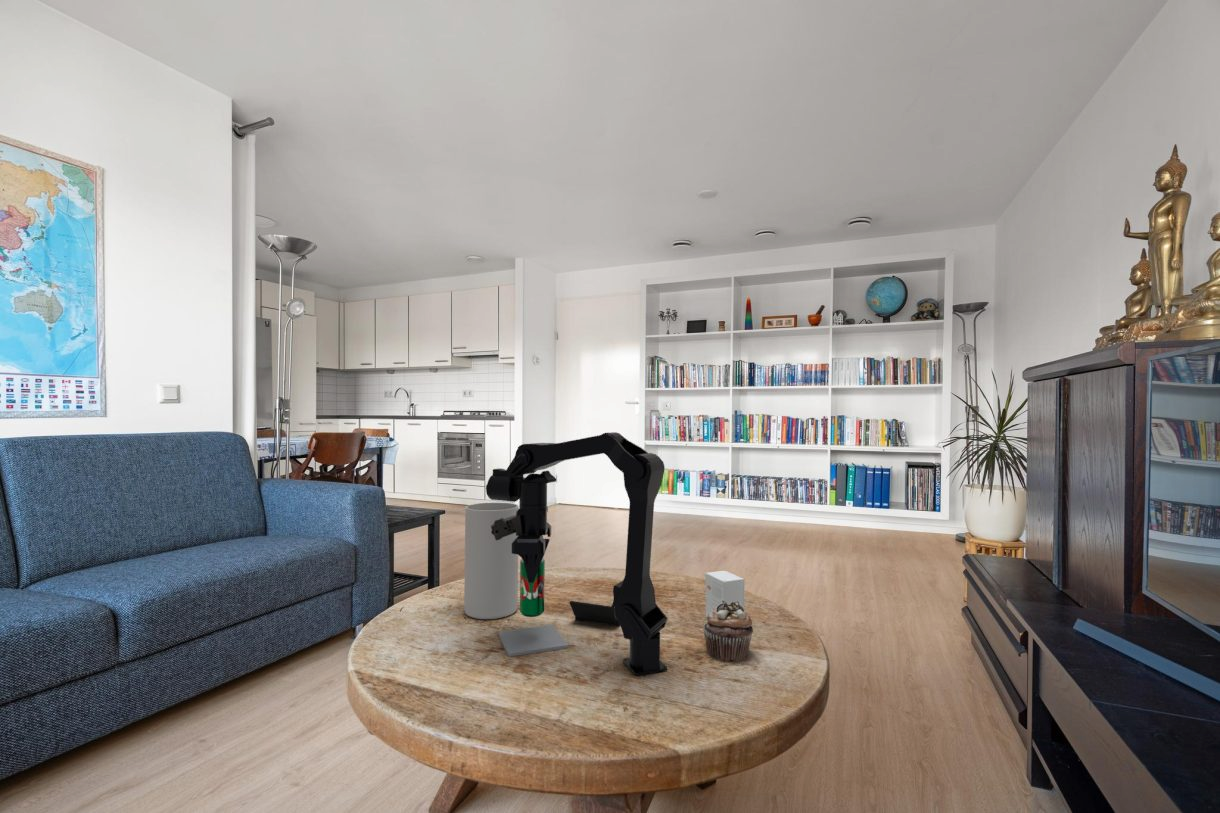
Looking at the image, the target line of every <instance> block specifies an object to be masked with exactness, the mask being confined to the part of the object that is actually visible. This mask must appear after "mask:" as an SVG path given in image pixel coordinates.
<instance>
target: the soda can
mask: <svg viewBox="0 0 1220 813" xmlns="http://www.w3.org/2000/svg"><path fill="white" fill-rule="evenodd" d="M519 562H520V563H519V564H520V565H519V566H520V567H519V571H520V572H519V573H520V575H519V612H520V614H521V615H522V616H524V617H526V618H534V617H535V618H536V617H540V616H541V615H543V613H545V603H546V602H545V596H546V594H545V593H546V592H545V587H546V586H545V582H546V581H545V580H546V579H545V572H546V569H545V568H546V560H545V559H544V557H543V559H542V561H541V564H540V567H539V569H538V572H537V575H536V578H535V580H534V582H533V583H529V582H528V579H527V574H526V570H525V566H524V562H523V559H522V558H521V559H520V561H519Z"/></svg>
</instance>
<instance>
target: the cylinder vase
mask: <svg viewBox="0 0 1220 813" xmlns="http://www.w3.org/2000/svg"><path fill="white" fill-rule="evenodd" d="M464 507H465V509H464V511H465V512H464V513H465V516H464V518H465V520H464V521H465V522H464V524H465V525H464V527H465V528H464V583H463V584H464V593H463V594H464V597H463V598H464V604H463V606H464V607H463V608H464V609H463V610H464V613H465V614H466V615H467V616H468V617H470V618H473V619H477V620H497V619H503V618H506V617H509V616H510V615H513V614H514V613H515V612H516V611H517V610H518V607H519V606H518V605H519V603H518V602H519V601H518V600H519V598H518V596H519V555H518V554H512V543H513V541H514V540H515V539H516V538H517V537H518V536H516V532H515V533H513V534H511V535H508V536H505V537H502V539H500V540H495V537H494V535H493V534H492V533H491V531H492V529H491V525H492V524H493V523H494V521H495V520H499V519H501V518H504V519H505V518H508V517H511V516H514V515H516V512H517V511H518V509H519V504H517V503H513V502H512V503H511V502H499V501H498V502H482V503H481V502H478V503H473V504H468V505H466V506H464Z"/></svg>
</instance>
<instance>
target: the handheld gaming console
mask: <svg viewBox="0 0 1220 813" xmlns="http://www.w3.org/2000/svg"><path fill="white" fill-rule="evenodd" d="M569 604H570V608H571V610H572V613H573V615H574V618H575V619H574V620H575V621H578V622H587V623H593V624H598V625H599V624H600V625H607V626H613V627H620V628H621V625H620V623H619V621H618V620H617V619H616V618H615V614H614V608H615V607H614V608H611V606H612V605H604V604H603V605H602V604H598V603H597V604H596V603H590V602H582V601H573V600H569Z"/></svg>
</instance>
